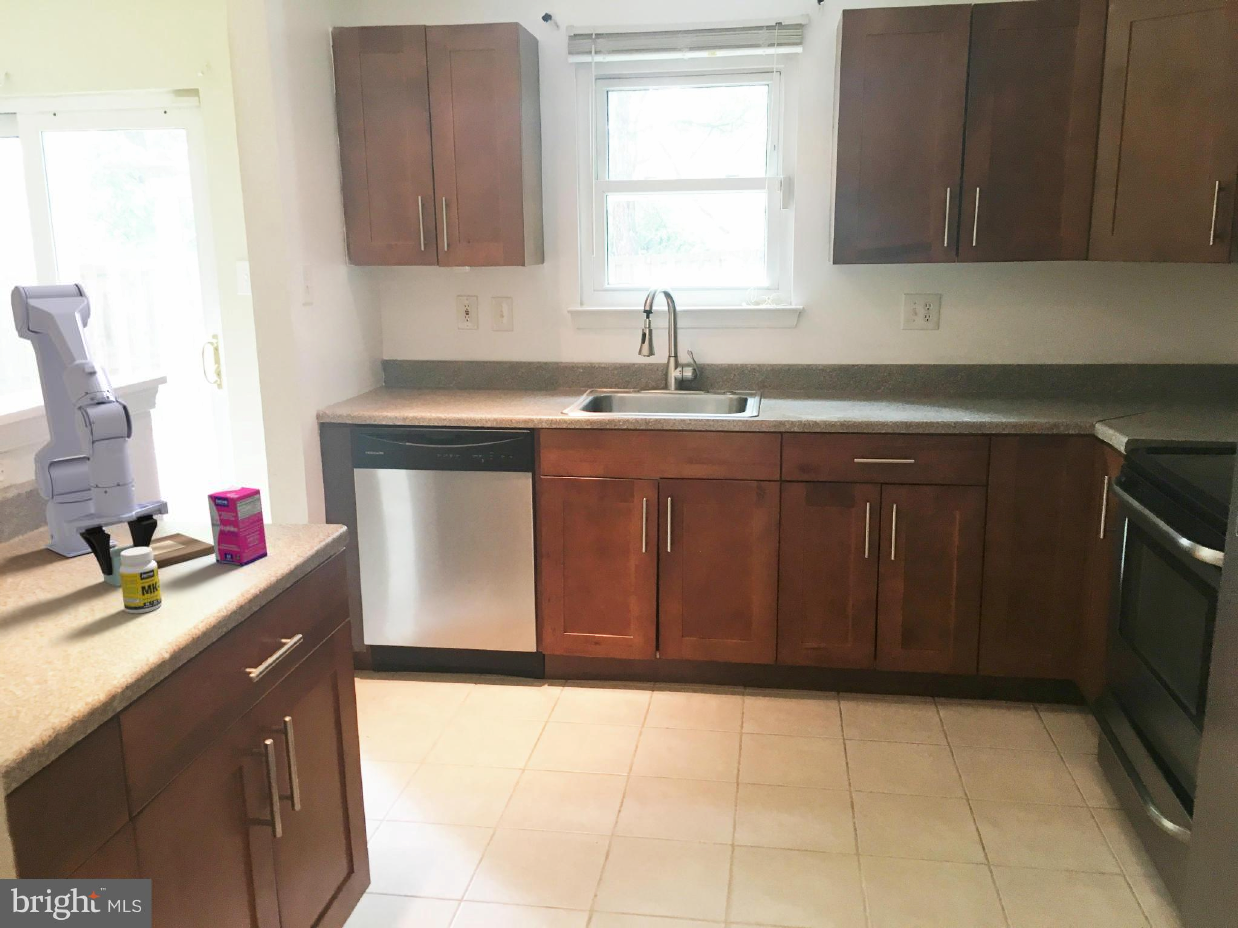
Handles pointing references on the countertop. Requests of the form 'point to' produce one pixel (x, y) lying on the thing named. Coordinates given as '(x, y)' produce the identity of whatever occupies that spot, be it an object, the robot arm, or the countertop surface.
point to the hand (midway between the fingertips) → (124, 569)
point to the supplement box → (237, 525)
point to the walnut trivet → (178, 549)
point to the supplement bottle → (139, 580)
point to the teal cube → (116, 565)
